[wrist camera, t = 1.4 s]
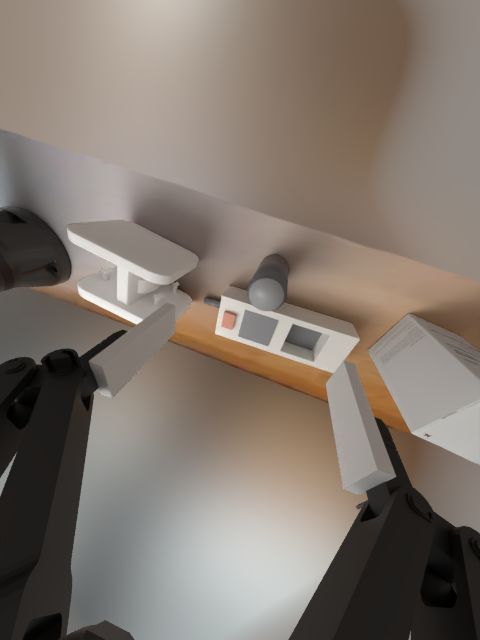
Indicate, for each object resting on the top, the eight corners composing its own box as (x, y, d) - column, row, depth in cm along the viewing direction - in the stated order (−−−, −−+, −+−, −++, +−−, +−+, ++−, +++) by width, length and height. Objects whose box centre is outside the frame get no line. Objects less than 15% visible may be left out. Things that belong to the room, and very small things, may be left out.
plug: (256, 258, 30) (241, 280, 21) (286, 251, 28) (282, 271, 19) (263, 285, 32) (251, 315, 23) (290, 279, 30) (289, 310, 21)
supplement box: (410, 370, 33) (479, 468, 21) (365, 350, 33) (408, 435, 21) (462, 335, 28) (594, 437, 16) (409, 310, 28) (499, 393, 16)
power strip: (204, 315, 38) (193, 328, 34) (208, 279, 34) (196, 289, 29) (329, 356, 36) (334, 376, 32) (352, 323, 31) (361, 341, 27)
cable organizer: (208, 257, 32) (171, 280, 22) (193, 305, 38) (159, 340, 28) (129, 217, 31) (56, 222, 22) (126, 272, 37) (69, 295, 28)
